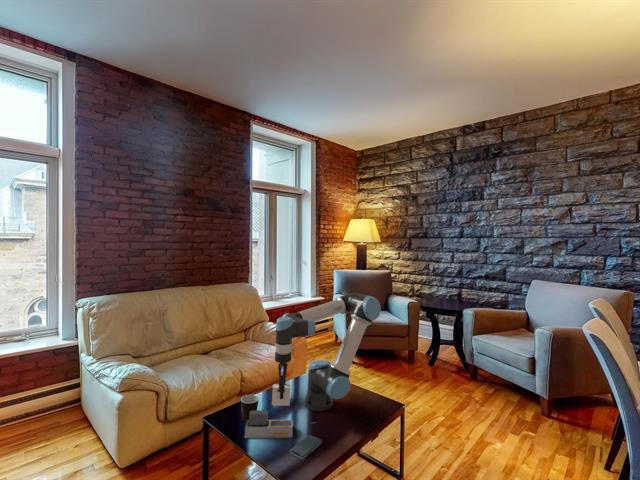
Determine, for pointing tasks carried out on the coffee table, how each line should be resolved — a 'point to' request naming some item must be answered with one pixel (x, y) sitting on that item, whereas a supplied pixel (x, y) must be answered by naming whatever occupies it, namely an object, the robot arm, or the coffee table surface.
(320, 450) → the coffee table surface
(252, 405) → the coffee mug
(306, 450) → the smartphone
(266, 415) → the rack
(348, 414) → the coffee table surface
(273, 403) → the beige rectangular block
